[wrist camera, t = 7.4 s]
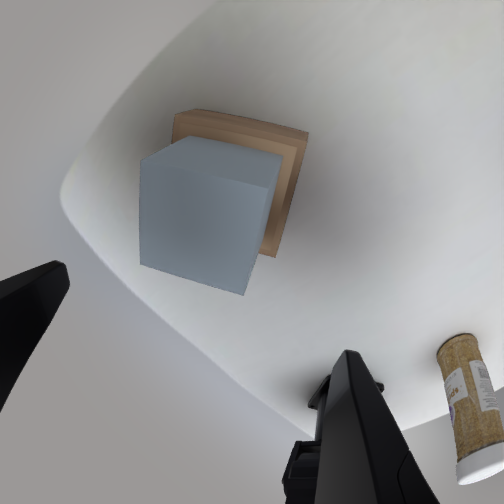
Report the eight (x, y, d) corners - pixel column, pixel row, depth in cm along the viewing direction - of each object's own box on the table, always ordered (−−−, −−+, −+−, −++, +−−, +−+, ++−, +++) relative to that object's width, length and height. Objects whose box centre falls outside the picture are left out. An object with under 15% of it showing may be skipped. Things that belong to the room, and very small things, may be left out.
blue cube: (262, 239, 17) (243, 295, 13) (180, 217, 18) (140, 264, 13) (283, 155, 15) (268, 189, 10) (189, 135, 15) (140, 160, 11)
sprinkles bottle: (430, 348, 23) (452, 483, 12) (471, 324, 21) (511, 458, 10) (443, 369, 24) (462, 489, 13) (481, 349, 22) (512, 467, 11)
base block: (281, 233, 20) (275, 258, 18) (183, 207, 21) (164, 227, 18) (308, 132, 16) (307, 142, 14) (195, 108, 17) (174, 114, 14)
